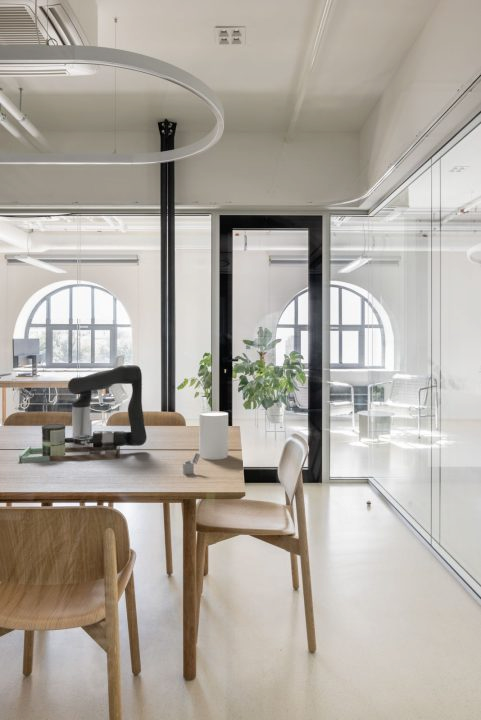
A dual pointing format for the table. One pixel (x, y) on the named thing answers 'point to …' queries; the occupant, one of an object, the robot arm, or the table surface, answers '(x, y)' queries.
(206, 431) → the canister
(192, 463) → the lighter
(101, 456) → the walnut lane
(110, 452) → the mats
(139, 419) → the robot arm
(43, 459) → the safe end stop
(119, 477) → the table surface
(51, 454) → the coffee can
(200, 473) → the table surface
